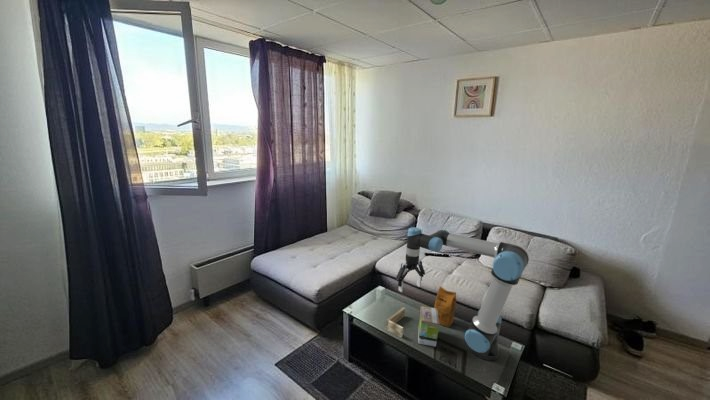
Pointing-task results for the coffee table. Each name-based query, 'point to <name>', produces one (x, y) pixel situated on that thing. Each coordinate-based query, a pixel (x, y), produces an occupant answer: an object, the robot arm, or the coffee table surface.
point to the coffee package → (445, 306)
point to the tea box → (428, 326)
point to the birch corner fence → (392, 322)
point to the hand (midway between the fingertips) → (409, 288)
